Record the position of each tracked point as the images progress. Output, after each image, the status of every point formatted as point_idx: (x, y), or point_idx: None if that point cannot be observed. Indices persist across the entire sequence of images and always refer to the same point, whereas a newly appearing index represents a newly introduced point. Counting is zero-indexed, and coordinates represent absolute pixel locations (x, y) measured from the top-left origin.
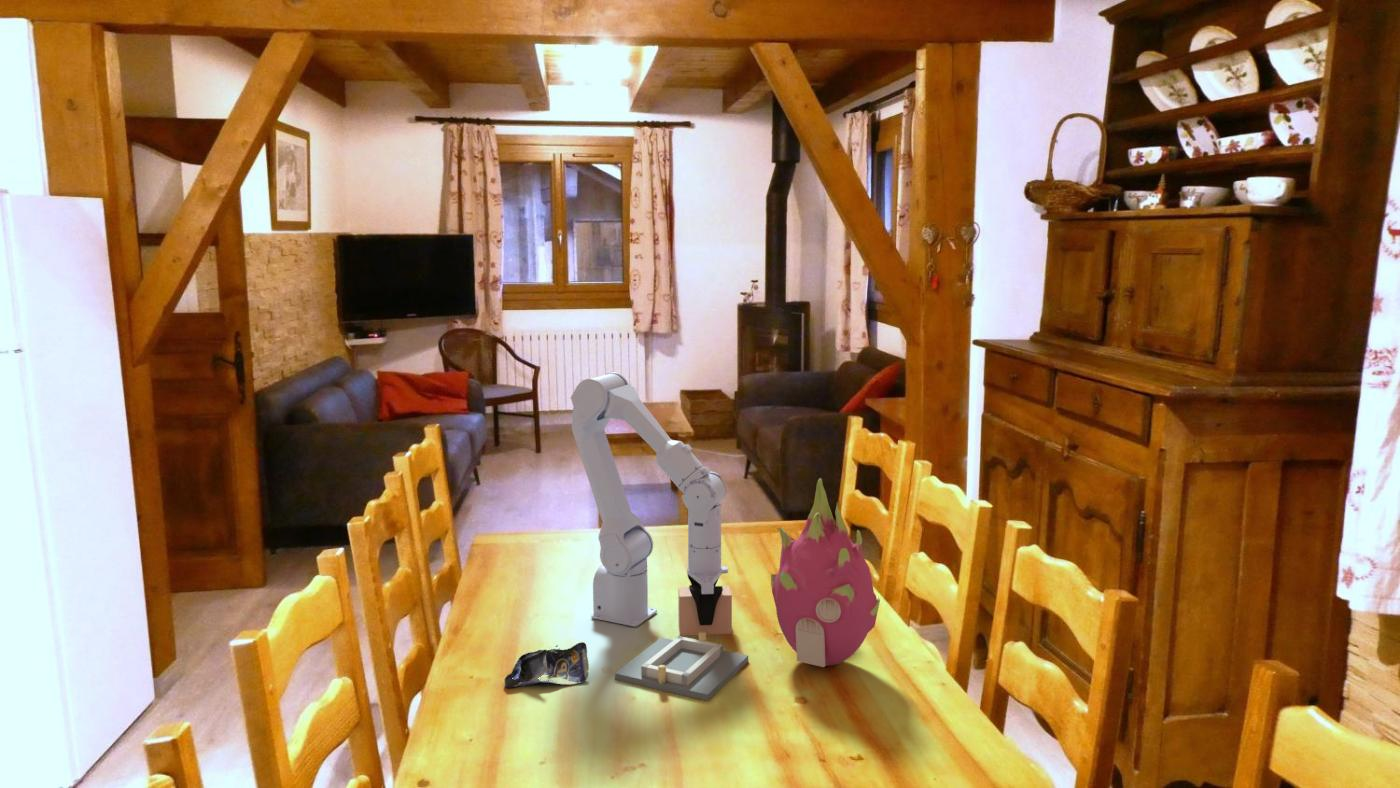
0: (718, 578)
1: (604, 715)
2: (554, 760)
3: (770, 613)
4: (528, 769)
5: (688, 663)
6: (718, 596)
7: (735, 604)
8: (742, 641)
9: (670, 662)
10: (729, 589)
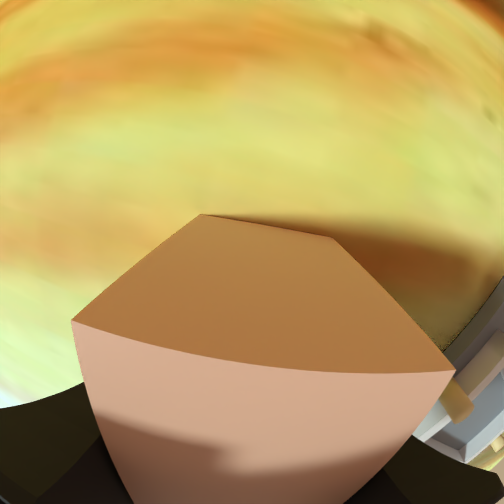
0: (52, 486)
1: (477, 458)
2: (494, 461)
3: (139, 10)
4: (488, 470)
5: (478, 404)
6: (468, 473)
7: (24, 147)
8: (419, 214)
9: (451, 434)
10: (233, 373)
